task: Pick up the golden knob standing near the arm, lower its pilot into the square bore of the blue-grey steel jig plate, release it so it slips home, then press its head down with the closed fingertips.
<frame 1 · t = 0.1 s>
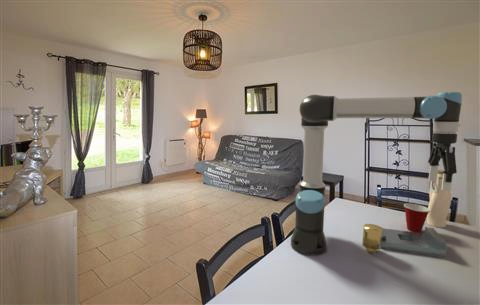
hand: (438, 185, 102), 28 cm above the table, fingers open, 13 cm apart
golden knob: (370, 251, 106), on the table
plastic cup: (414, 230, 125), on the table
jig: (405, 243, 111), on the table
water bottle: (435, 224, 130), on the table
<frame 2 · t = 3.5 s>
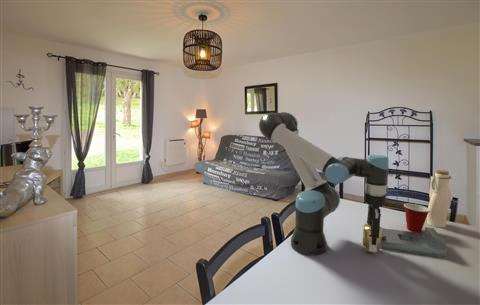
hand: (371, 246, 106), 2 cm above the table, fingers closed on golden knob, 7 cm apart
golden knob: (370, 251, 106), on the table, touching gripper
everything else where it was.
when the fingers open (4 cm above the table, at t = 7.9 s): golden knob drops 1 cm, resting on jig.
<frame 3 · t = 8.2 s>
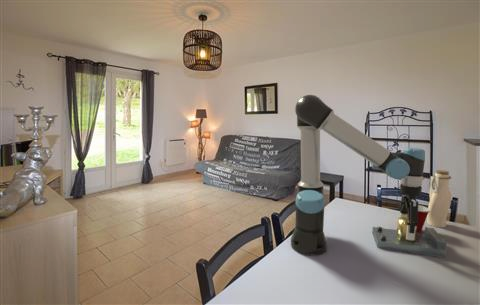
hand: (406, 233, 111), 5 cm above the table, fingers open, 11 cm apart
golden knob: (405, 242, 111), resting on jig
everything else where it was.
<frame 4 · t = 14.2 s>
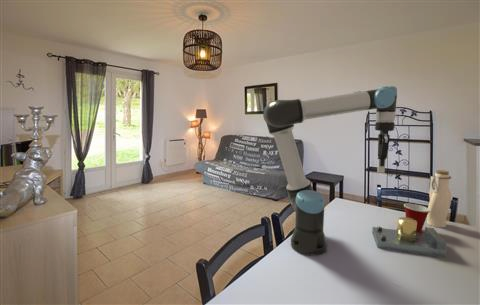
hand: (380, 172, 118), 29 cm above the table, fingers closed
nothing on the table moved.
at the end: golden knob 0.0 cm off-centre on the jig, point 0.5 cm above the jig's base; golden knob tilted 0°; the gripper is holding nothing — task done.
